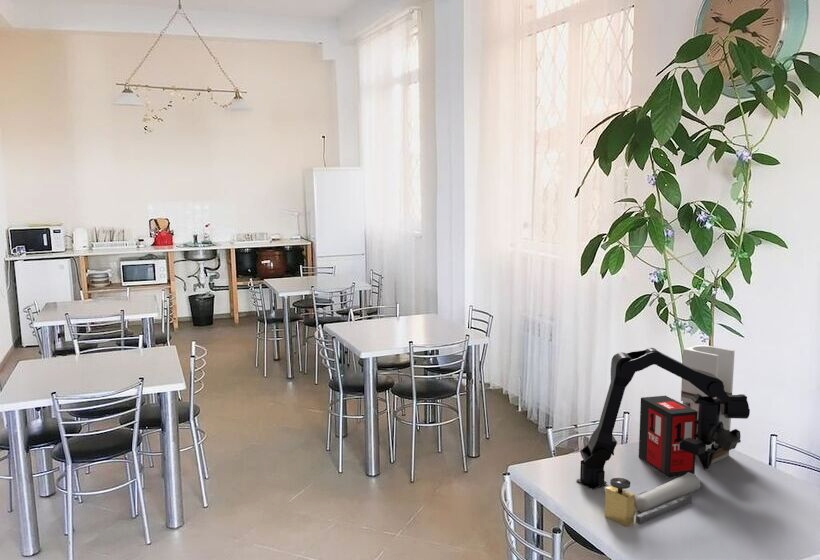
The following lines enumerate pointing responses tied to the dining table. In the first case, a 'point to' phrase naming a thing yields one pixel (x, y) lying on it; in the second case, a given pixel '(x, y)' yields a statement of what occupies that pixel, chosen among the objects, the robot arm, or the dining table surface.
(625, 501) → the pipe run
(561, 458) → the dining table surface
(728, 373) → the display case
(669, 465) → the cleaning product box
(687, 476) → the tube
